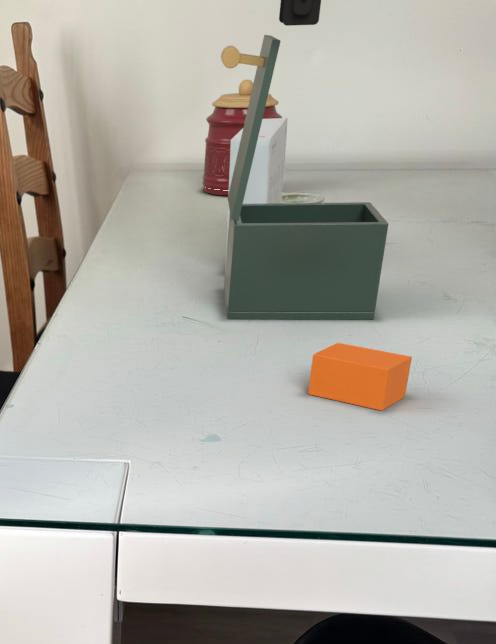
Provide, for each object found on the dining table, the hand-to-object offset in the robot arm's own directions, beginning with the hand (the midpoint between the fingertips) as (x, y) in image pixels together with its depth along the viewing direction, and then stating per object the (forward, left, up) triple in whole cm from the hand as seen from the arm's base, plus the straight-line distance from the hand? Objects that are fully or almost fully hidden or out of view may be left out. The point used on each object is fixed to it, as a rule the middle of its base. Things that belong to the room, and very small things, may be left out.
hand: (297, 23), depth 96 cm
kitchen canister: (+48, -69, -28) cm, 88 cm away
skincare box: (+17, -24, -28) cm, 40 cm away
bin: (0, -6, -28) cm, 28 cm away
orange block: (-20, +18, -28) cm, 39 cm away
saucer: (+29, -55, -28) cm, 68 cm away
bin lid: (+5, -2, -9) cm, 11 cm away
